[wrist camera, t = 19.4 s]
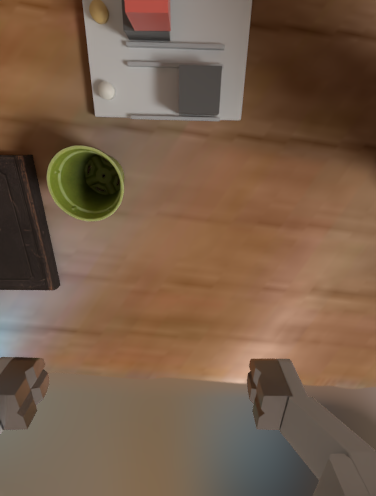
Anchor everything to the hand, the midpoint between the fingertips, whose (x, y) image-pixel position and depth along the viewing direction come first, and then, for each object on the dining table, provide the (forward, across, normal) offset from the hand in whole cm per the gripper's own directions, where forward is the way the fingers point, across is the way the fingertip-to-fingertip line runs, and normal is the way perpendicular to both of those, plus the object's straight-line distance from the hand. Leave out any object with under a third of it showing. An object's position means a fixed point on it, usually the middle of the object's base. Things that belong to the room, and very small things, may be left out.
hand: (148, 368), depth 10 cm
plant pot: (+34, +11, -2) cm, 36 cm away
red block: (+29, +2, -20) cm, 36 cm away
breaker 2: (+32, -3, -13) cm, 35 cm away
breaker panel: (+34, +1, -17) cm, 38 cm away
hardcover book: (+35, +29, +7) cm, 46 cm away
